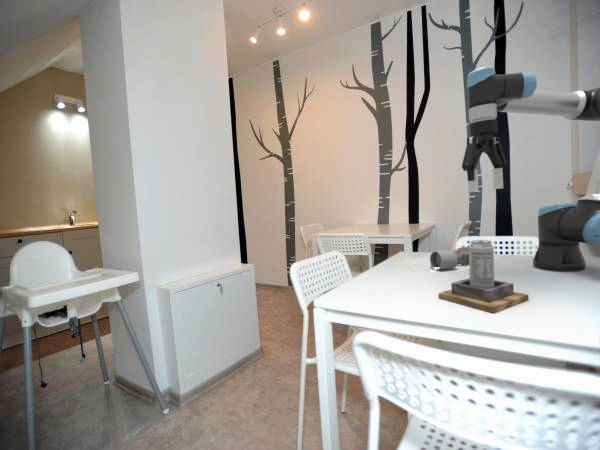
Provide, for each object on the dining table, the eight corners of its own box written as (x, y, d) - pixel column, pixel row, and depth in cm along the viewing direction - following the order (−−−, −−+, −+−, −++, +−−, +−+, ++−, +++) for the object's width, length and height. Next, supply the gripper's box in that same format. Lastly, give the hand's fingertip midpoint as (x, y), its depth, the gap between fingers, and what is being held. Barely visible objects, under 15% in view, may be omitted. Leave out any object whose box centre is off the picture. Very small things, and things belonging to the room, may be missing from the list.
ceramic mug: (460, 269, 126) (459, 250, 125) (441, 272, 124) (440, 252, 124) (442, 265, 136) (441, 247, 136) (425, 267, 134) (424, 249, 134)
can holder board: (473, 287, 102) (472, 273, 102) (528, 300, 88) (528, 283, 88) (438, 298, 95) (438, 283, 94) (493, 313, 81) (492, 295, 80)
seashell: (459, 252, 146) (468, 234, 140) (478, 265, 140) (488, 247, 134) (440, 263, 139) (448, 245, 133) (458, 277, 133) (468, 259, 127)
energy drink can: (494, 291, 92) (493, 239, 91) (494, 298, 87) (492, 242, 86) (471, 289, 95) (469, 239, 94) (469, 295, 90) (467, 242, 89)
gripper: (493, 125, 110) (496, 188, 111) (446, 123, 97) (450, 193, 99) (517, 119, 103) (520, 186, 105) (470, 116, 91) (474, 192, 93)
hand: (486, 190), depth 102 cm, fingers open, 13 cm apart
